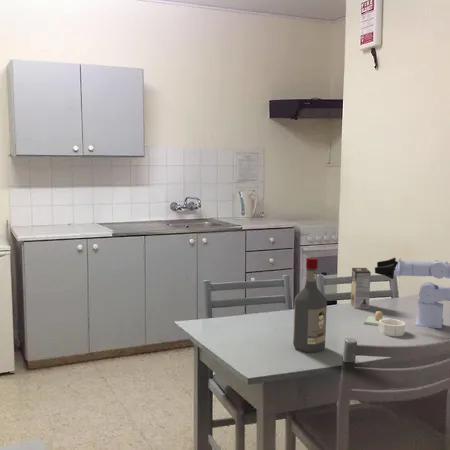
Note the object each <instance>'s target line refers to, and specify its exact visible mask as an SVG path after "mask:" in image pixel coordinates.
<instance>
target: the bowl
mask: <svg viewBox="0 0 450 450" xmlns="http://www.w3.org/2000/svg"><path fill="white" fill-rule="evenodd" d="M377 331H378V333H379V334H381V335H384V336H389V337H401V336H404V335H405V332H406V322H405V321H402V320H401V319H395V318H390V319H380V320H379V322H378V326H377Z"/></svg>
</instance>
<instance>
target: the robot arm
mask: <svg viewBox="0 0 450 450" xmlns="http://www.w3.org/2000/svg"><path fill="white" fill-rule="evenodd" d="M376 263H377V264H376V266H377V267H376V266H375V267H374V273H375V274H377V275H381V276H385V277H387V278H389V279H391V280H394V277H434V278H435V279H438V280H440V279H443V278H446V279H450V262H449V261H444V262H443V261H441V260H439V259H436V260H434V261H421V260H420V261H419V260H402V258H401V257H398V260H397V257H392V258H390V259H386V260H381V261H377V262H376ZM419 289H420V290H419V293H418V296H419V298H418V299H417V310H416V320H415V323H414V326H416V327H417V326H418V327H424V328H425V327H426V328H432V329H442V328H443V323H444V318H443V317H444V316H443V315H444V314H443V313H444V303H441V302H444V301H447V302H448V301H450V287H448V286H443V285H439V284H438V285H437V284H434V283H433V282H430V281H429V282H428V281H427V282H424V283H422V284H421V285H420V288H419Z"/></svg>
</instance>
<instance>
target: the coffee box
mask: <svg viewBox="0 0 450 450" xmlns="http://www.w3.org/2000/svg"><path fill="white" fill-rule="evenodd" d="M371 277H372V275H371V271H370V270H369V269H368V267H352V268H351V287H350V289H351V290H350V304H351V306H352V307H353V308H354V309H362V310H363V309H364V310H365V309H370V293H371V292H370V291H371Z"/></svg>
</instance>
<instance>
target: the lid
mask: <svg viewBox="0 0 450 450" xmlns="http://www.w3.org/2000/svg"><path fill="white" fill-rule="evenodd" d="M383 315H384V314H383V311H379V310H378V311H375V316H374V315H373V316H372V315H368V316H367V317H366V319H365V320H364V322H365V324H364V325H366V324H370V325H369V326H374V325H378V322H379V320H380V319H391V317H390V318H388V317H384V316H383Z"/></svg>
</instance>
